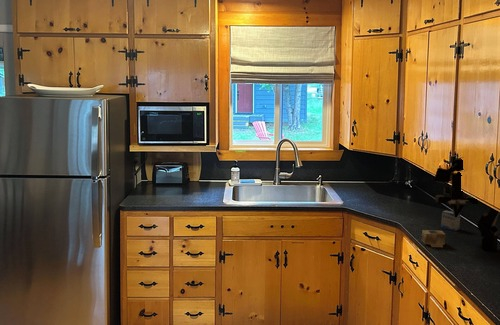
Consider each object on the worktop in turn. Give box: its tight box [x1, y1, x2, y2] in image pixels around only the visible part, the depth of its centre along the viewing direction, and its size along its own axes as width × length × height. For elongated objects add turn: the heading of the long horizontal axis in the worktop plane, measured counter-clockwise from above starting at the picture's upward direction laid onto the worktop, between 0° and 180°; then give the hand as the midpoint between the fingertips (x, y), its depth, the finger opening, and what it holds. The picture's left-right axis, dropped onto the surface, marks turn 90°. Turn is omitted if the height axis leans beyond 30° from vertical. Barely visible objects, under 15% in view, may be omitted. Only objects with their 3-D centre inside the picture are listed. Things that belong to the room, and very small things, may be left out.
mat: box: [429, 244, 444, 248], centre depth 264 cm, size 5×10×1 cm, turn 177°
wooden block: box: [421, 229, 446, 246], centre depth 263 cm, size 5×6×9 cm
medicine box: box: [440, 210, 461, 232], centre depth 289 cm, size 8×4×9 cm, turn 45°
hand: (455, 217), depth 265 cm, fingers closed
